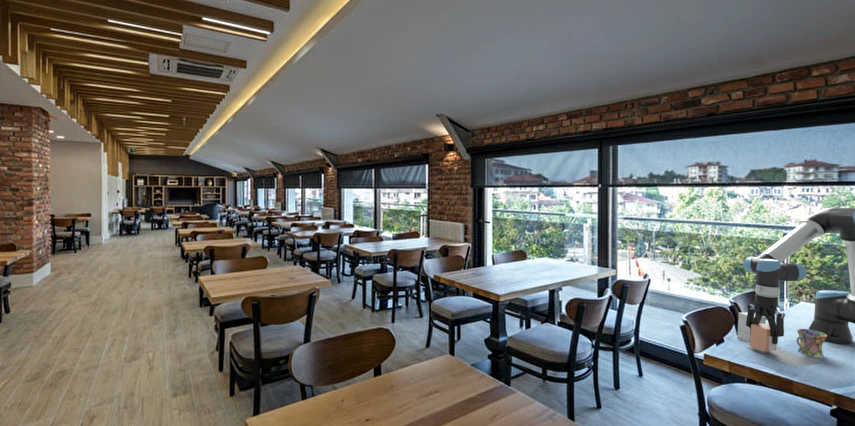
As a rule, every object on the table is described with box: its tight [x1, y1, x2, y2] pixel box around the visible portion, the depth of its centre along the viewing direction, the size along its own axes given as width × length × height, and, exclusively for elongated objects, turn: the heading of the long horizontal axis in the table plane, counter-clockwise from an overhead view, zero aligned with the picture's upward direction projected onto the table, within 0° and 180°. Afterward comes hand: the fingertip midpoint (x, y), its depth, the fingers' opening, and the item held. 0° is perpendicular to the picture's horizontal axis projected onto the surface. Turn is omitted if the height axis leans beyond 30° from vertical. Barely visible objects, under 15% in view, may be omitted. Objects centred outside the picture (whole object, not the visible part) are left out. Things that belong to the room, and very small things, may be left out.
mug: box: [796, 328, 827, 358], centre depth 168 cm, size 12×9×11 cm
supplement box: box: [736, 311, 767, 343], centre depth 186 cm, size 7×7×13 cm
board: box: [746, 346, 821, 368], centre depth 167 cm, size 14×19×2 cm
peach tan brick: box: [749, 323, 777, 352], centre depth 170 cm, size 6×6×10 cm
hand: (762, 347), depth 170 cm, fingers closed on peach tan brick, 6 cm apart
